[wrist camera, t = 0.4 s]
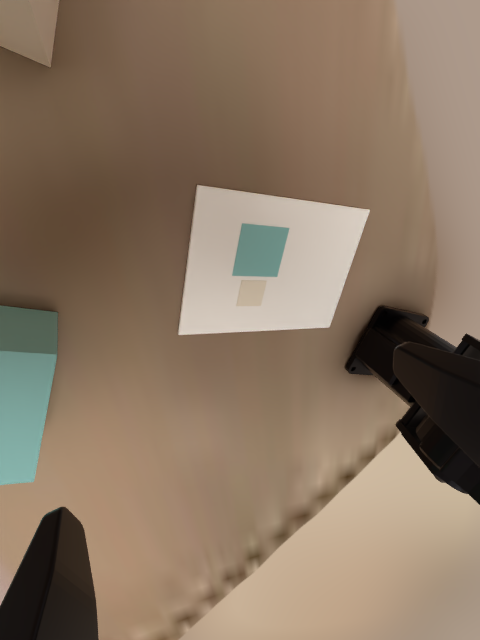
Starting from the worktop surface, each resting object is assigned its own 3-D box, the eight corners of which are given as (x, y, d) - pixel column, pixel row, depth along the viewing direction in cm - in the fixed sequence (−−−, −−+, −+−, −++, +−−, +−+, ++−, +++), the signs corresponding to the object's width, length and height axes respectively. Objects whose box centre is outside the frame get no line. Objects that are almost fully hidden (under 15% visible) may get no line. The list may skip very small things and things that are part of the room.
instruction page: (368, 209, 24) (370, 210, 23) (327, 326, 28) (329, 327, 27) (196, 184, 18) (198, 185, 18) (177, 333, 22) (178, 335, 22)
